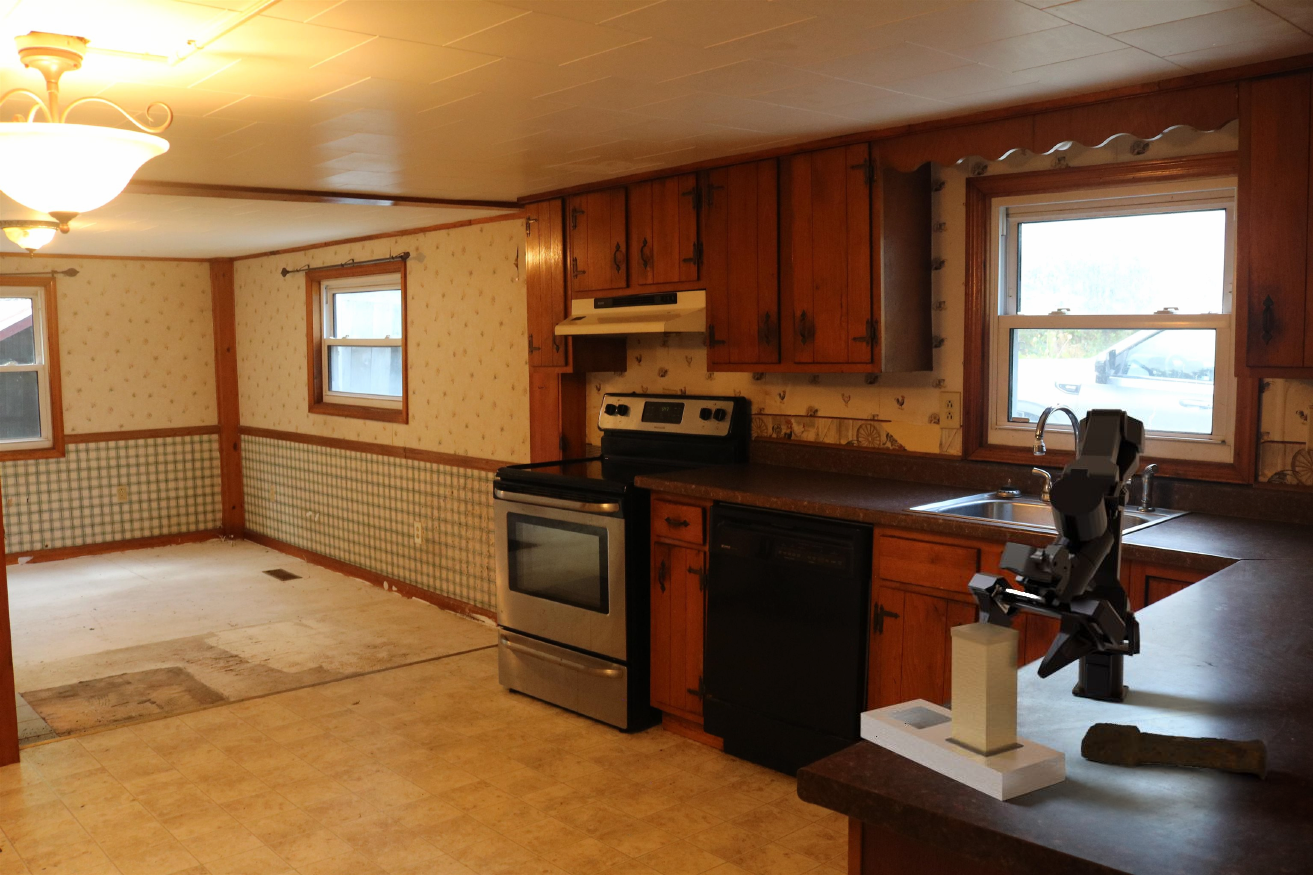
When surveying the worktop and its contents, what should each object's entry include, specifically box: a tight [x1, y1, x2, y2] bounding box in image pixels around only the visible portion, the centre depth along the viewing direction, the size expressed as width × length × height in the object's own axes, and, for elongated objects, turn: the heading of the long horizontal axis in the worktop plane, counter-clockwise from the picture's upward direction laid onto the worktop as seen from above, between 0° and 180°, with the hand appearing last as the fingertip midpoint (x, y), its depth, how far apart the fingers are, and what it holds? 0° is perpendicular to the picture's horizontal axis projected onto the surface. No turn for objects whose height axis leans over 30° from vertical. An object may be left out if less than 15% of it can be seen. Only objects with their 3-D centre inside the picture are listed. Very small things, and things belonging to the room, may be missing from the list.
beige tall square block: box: [950, 621, 1020, 754], centre depth 116 cm, size 5×5×13 cm
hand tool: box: [1080, 722, 1269, 780], centre depth 117 cm, size 19×4×5 cm, turn 72°
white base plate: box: [860, 698, 1066, 802], centre depth 120 cm, size 10×22×3 cm, turn 30°
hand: (1007, 665), depth 118 cm, fingers open, 9 cm apart
